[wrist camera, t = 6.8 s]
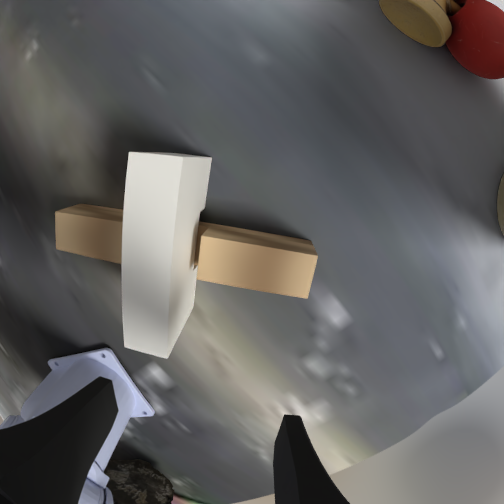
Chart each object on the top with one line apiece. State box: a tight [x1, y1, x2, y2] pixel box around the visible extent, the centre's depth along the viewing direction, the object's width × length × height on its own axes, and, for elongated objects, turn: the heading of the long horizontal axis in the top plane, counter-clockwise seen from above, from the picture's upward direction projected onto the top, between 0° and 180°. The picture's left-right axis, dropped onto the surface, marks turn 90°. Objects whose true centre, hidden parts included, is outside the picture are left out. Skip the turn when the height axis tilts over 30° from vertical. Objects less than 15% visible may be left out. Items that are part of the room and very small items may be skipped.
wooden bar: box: [55, 204, 318, 298], centre depth 17 cm, size 16×2×3 cm, turn 81°
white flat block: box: [122, 152, 212, 359], centre depth 16 cm, size 2×10×6 cm, turn 170°
